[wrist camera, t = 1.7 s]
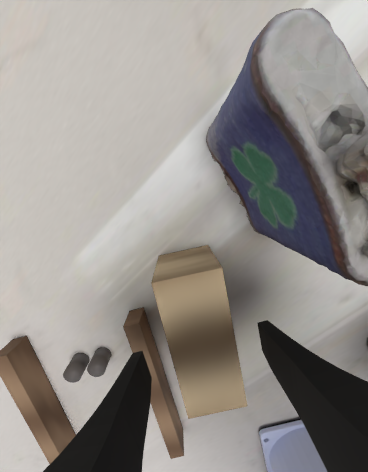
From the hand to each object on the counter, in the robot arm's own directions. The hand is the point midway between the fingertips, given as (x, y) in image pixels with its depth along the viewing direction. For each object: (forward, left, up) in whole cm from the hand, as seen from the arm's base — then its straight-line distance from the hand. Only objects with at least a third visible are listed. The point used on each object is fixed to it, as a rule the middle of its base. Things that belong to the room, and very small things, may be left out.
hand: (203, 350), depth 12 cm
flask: (+9, -6, -5) cm, 12 cm away
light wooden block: (0, 0, -5) cm, 5 cm away
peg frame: (-6, +10, -5) cm, 13 cm away
